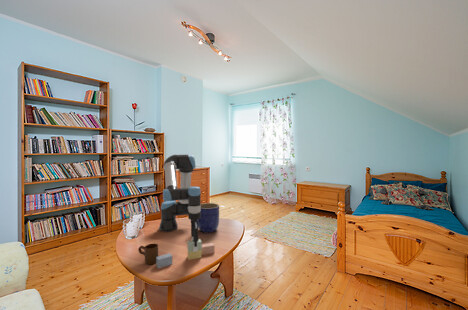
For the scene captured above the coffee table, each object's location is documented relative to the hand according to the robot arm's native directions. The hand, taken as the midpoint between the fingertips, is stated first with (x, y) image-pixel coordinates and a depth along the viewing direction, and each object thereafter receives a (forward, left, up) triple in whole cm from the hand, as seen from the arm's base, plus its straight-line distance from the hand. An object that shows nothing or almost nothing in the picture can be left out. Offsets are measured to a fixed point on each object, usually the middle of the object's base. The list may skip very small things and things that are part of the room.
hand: (194, 249), depth 131 cm
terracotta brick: (-3, +9, -5) cm, 11 cm away
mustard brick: (0, 0, -5) cm, 5 cm away
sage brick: (0, 0, 0) cm, 0 cm away
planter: (-41, +18, -5) cm, 45 cm away
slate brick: (+3, -18, -5) cm, 19 cm away
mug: (-4, -27, -5) cm, 28 cm away
